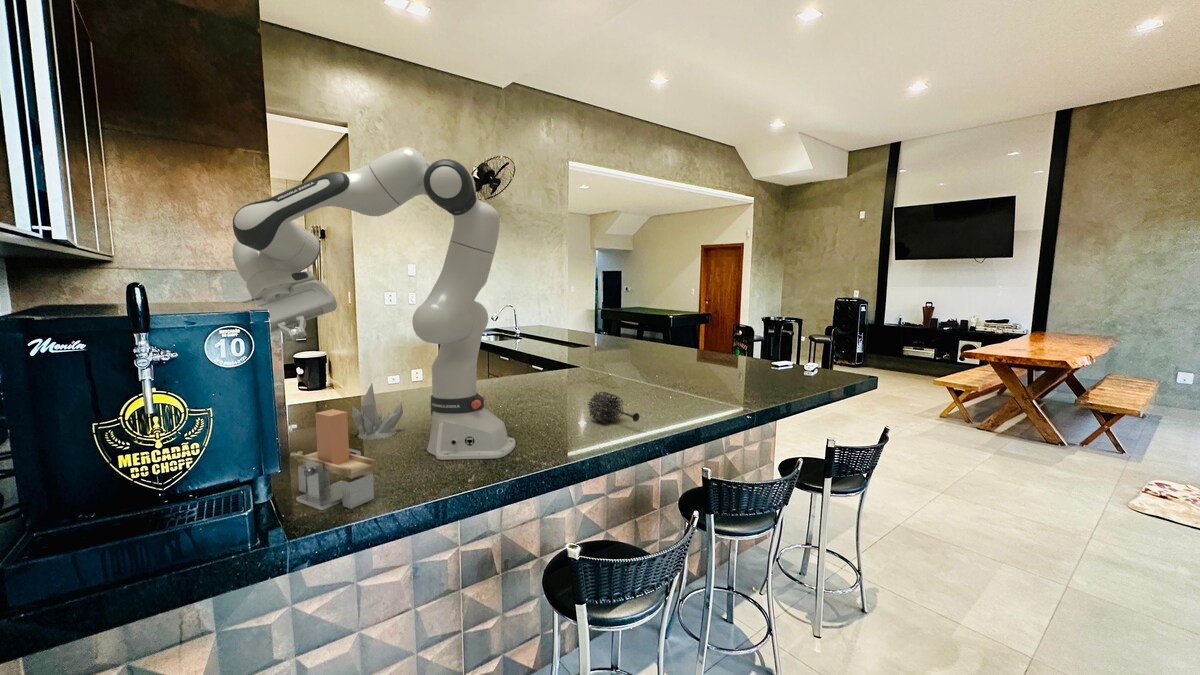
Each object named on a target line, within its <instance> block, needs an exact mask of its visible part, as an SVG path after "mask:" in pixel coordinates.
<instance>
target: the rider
mask: <svg viewBox="0 0 1200 675" xmlns="http://www.w3.org/2000/svg"><path fill="white" fill-rule="evenodd" d="M314 418H315V431H316V433H315V434H316V450H317V451H316V452H317V455H318V459H319V460H323V461H326V462H329V463H333V464H336V465H338V464H341V463H344V462H347V461H349V449H350V447H349V446H350V444H349V443H350V442H349V441H350V440H349V423H348V422H349V421H348V418H349V417H348V411H343V410H339V409H334V408H332V409H328V410H324V411H319V412H315V417H314Z"/></svg>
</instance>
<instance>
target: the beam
mask: <svg viewBox="0 0 1200 675" xmlns="http://www.w3.org/2000/svg"><path fill="white" fill-rule="evenodd" d="M293 458H294V460H297V463H300V464H302V465H306V462H308V461H315V462H318V463H321V464H323V470H325V471H328V472H330V473H331V474H335V475H339V476H341V477H345V478H346V477H348V478H354V477H357V476H359V475H362V474H365V473H367V472H369V473H371V472H373V471H374V466H375V465H377V460H376V459H374V458H370V457H367V456H359V455H355V454H352V453H350V452H349V461H347V462H344V463H341V464H338V465H336V464H333V463H329V462H326V461H323V460H319V459H318V455H317V451H315V452H311V453H308V454H305V455H304V454H301V453H294V454H293Z"/></svg>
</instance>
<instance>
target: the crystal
mask: <svg viewBox="0 0 1200 675" xmlns="http://www.w3.org/2000/svg"><path fill="white" fill-rule="evenodd" d="M360 409H361V411H360V410H358V409H357V408H356V407H355V406H353V405H352V406H351V410H352V411H351V418H352V420H353V422H354V424H355V427H356V428H357V429H358V432H359V433H358V435H357V438H358V437H359V438H358V439H360V438H361V439H360V440H362V439H368V440H367V441H374V440H373V439H377V440H382V439H381V438H384V439H386V438H385V437H388V436H391V435H393V434H394V435H395V434H396V433H397V431H396V430H395V428H396V426H397V425H398V422H400V419H401V417H402V415H403V414H404V410H403V409H404V408H403V404H402V402H400V403H399V404H398V405H397V406H396V408H395V409H394V411H393V413H390V412H388V413H387V414H386V415H385V416H383V417H382V413H381V412H380V414H379V413H378V411H377V405H376V400H375V394H374V386H373V383H370V386H369V387H368V389H367V392H366V394H365V395H364V397H363V400H362V402H361V404H360ZM395 432H396V433H395ZM394 435H393V436H394ZM391 437H392V436H391ZM388 438H389V437H388Z"/></svg>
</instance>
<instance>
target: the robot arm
mask: <svg viewBox="0 0 1200 675" xmlns="http://www.w3.org/2000/svg"><path fill="white" fill-rule="evenodd" d="M420 195H421V196H422V195H424V196H428V198H429V199H430V200H431V201H432V202H433V203H434V204H436V205H437V206H438V207H439V208H441V209H443V210H445V211H446V212H447V213H449V214H451V215H452V216H453V226H452V227H453V228H452V232H451V236H450V238H449V239H450V240H449V243H448V247H447V250H446V255H445V258H444V262H443V266H442V269H441V271H440V274H439V276H438V277H437V280H436V282H435V284H434V285H433V287H432V289H431V291H430V293H429V294H428V296H427V298H426V299H425V300H424V301H423V303H421V305H419V306H418V307H417V308H416V309H415V311H414V313H413V316H412V328H413V330H414V331H413V332H414V333H415V335H416V336H417V337H418V338H419V339H421V340H422V341H423V342H426V343H430V344H434V345H439V349H438V352H437V355H436V358H434V360H433V363H432V365H431V388H432V389H431V391H432V392H431V395H430V415H431V427H430V435H429V440H428V444H427V447H426V451H427V452H428V453H429V454H431V455H433V456H435V458H436V459H437V460H442V461H443V460H446V461H448V460H486V459H487V460H488V459H500V458H503V457H505V456H507V455H509V454H510V453H511V452H512V451H513V450H514V449H515V448H516V444H517V443H516V440H515V438H514V437H510V436H509V437H508V432H507V429H506V425H505V422H504V421H503V420H502V419H500V418H499V417H497V416H496V415H495V414H493V413H492V412H490V411H489V410H488V409H487V408H485V401H486V400H487V398H486V395H484V396H481V395H480V394H479V393H478V391H477V389H478V388H477V386H478V385H477V383H478V382H477V374H478V373H477V371H478V370H477V367H478V366H477V365H478V358H479V353H480V352H479V351H480V347H481V343H482V338H483V334H484V331H485V330H486V328H487V327H488V323H489V314H488V311H487V308H486V307H485V306H484V305H483V304H482V303H481V302H478V301H476V298H477V297H478V294H479V293H480V291H481V290H482V289H483V288H484V287H485V285H486V284H487V282H488V278H489V276H490V271H491V268H492V264H493V261H494V257H495V253H496V249H497V244H498V239H499V233H500V225H501V224H500V223H501V221H500V220H501V219H500V214H499V212H498V210H496V209H495V207H493V206H492V205H491V204H489V203H487V202H484V201H482V200H480V199H479V198H478V197H477V185H476V182H475V180H474V176H473V175H472V173H471V172H470V171H469V170H468V169H467V168H466V167H465V165H463V164H462V163H460V162H458V161H457V160H453V159H450V158H449V159H448V158H442V159H438V160H436V161H434V162H432V163H430V162H429V161H428V160H427V159H426V157H425V156H424V155H423V154H422V153H421V152H420V151H419V150H417V149H415V148H413V147H410V146H402V147H400V148H396V149H394V150H392V151H389V152H388V153H385V154H383V155H381V156H379V157H377V158H376V159H374V160H372V161H370V162H369V163H368V164H366V165H364V166H362V167H359V168H357V169H353V170H349V171H345V172H343V171H341V172H339V171H331V172H330V171H329V172H327V173H324V174H321V175H319V176H316V177H314V178H311V179H310V180H307V181H304V182H302V183H301V184H298V185H295V186H293V187H291V188H288V189H287V190H285V191H282V192H280V193H278V194H276V195H274V196H271V197H268V198H265V199H262V200H257V201H254V202H250V203H248V204H245V205H243V206H242V207H240V208H239V209H238V210H237V211H236V212H235V213H234V216H233V219H232V229H233V234H234V236H235V238H236V240H235V242H234V244H233V246H232V259H233V262H234V265H235V267H236V269H237V272H238V274H239V275H240V277H241V279H242V280H243V281H245V282H246V288H247V291H248V293H249V295H250V297H251V299H247V300H244V301H242V302H241V303H252V304H256V305H258V306H260V307H262V308H265V309H267V310H269V312H270V324H271V333H274V332H277V331H280V332H281V333H283V334H284V335H287V336H288V337H290V338H291V340H292V341H296V340H299V339H301V338H304V337H307V336H308V335H307V332H306V326H307V322H306V321H308V320H311V319H314V318H317V317H320V316H323V315H325V314H328V313H329V314H330V313H332V312H334V311H336V310H337V308H338V302H337V300H336V297H335V296H334V294H333V293H332V291H331V290H330V289H329V287H327V285H326V284H325V283H324V282H322V281H321V280H318V279H317V277H316V276H315V273H314V272H312V271H309V270H306V269H308V268H309V267H310V266H312V265H313V264H314V263H315V262H316V261H317V260H318V258H319V256H320V251H321V243H320V240H319V238H318V236H316V235H315V234H313V233H312V232H311V231H309V230H308V229H306V228H304V226H302V225H300V224H298V223H296V221H294V220H297V219H299V218H301V217H303V216H305V215H307V214H310V213H312V212H314V211H316V210H318V209H321V208H325V207H334V208H335V207H336V208H341V209H346V210H349V211H353V212H355V213H358V214H361V215H363V216H368V217H369V216H370V217H381V216H382V217H383V216H384V215H387V214H390V213H391V212H394V211H395V210H397V208H399V207H401V206H402V205H403V204H405V203H407V202H408V201H410V200H412V199H413V198H415V197H417V196H420ZM305 270H306V271H305ZM297 324H298V327H296V328H292V329H290V328H289V327H292V326H295V325H297ZM271 333H270V334H271Z"/></svg>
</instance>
